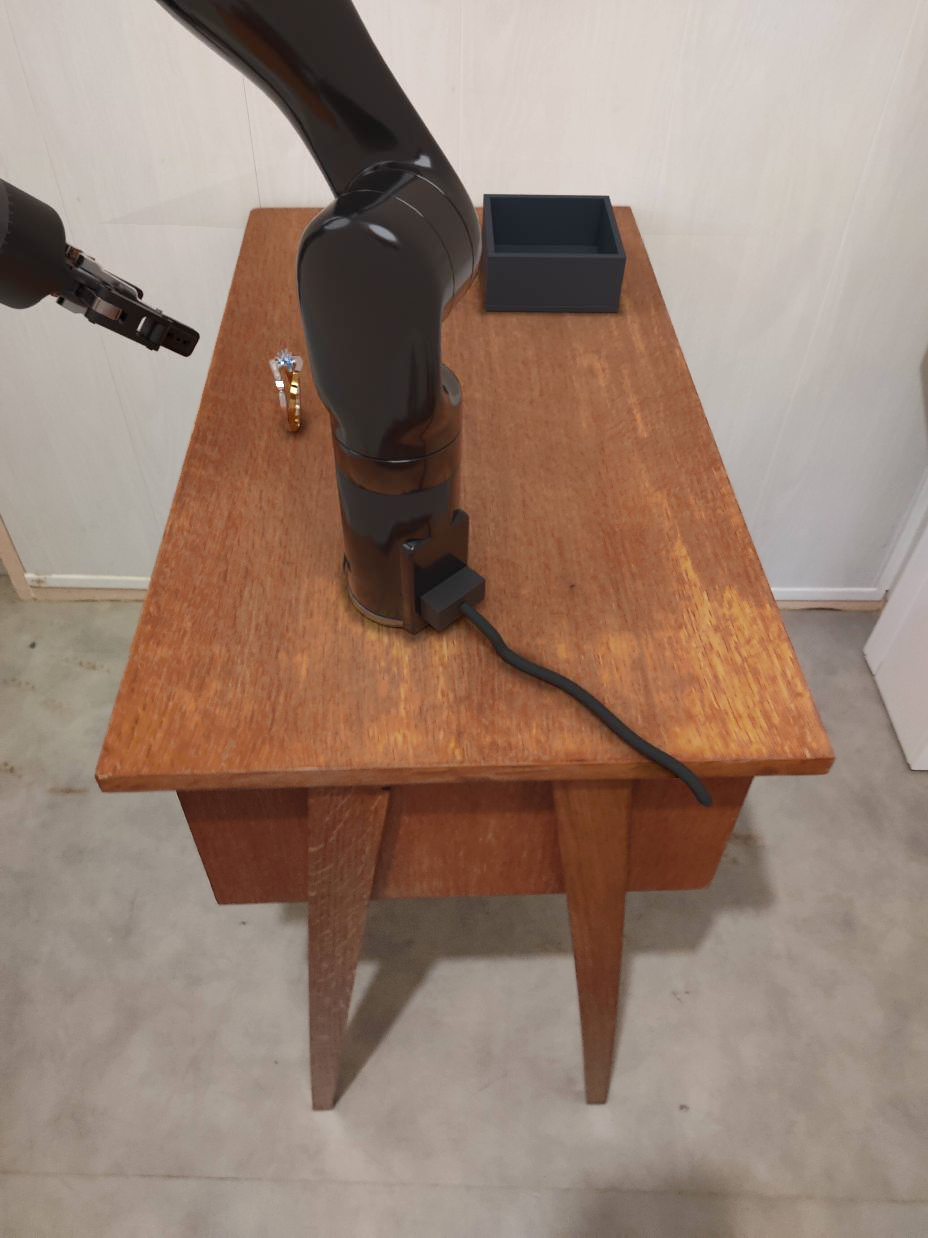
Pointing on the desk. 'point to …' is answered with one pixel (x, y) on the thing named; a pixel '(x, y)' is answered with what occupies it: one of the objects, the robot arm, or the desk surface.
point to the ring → (292, 370)
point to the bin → (551, 253)
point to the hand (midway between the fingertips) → (164, 322)
